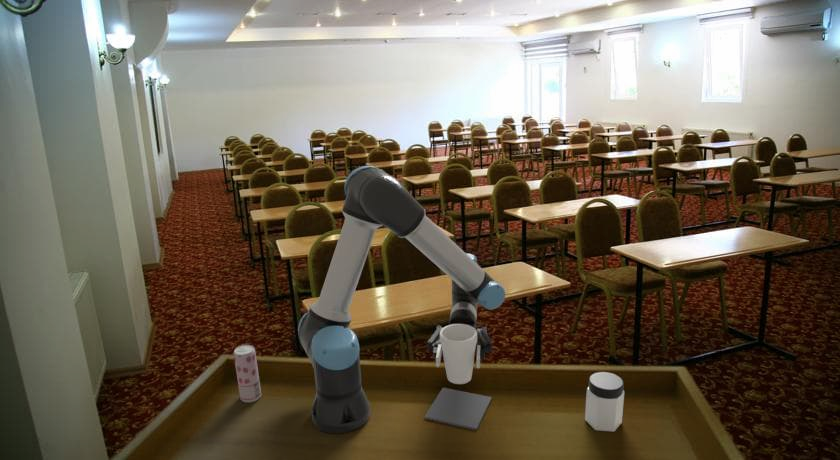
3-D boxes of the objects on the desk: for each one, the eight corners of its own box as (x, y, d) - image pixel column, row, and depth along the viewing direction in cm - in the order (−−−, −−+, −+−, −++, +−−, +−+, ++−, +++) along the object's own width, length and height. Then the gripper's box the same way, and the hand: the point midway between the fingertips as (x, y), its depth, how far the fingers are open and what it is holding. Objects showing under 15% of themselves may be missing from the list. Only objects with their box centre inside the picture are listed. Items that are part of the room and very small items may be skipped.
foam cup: (475, 389, 153) (474, 343, 148) (438, 386, 154) (437, 340, 150) (479, 368, 161) (478, 324, 157) (444, 366, 163) (443, 322, 159)
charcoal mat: (424, 418, 157) (424, 416, 157) (442, 389, 169) (442, 387, 169) (476, 430, 152) (476, 428, 152) (491, 399, 164) (491, 397, 164)
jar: (628, 428, 151) (632, 386, 147) (600, 436, 149) (603, 394, 145) (605, 407, 159) (609, 367, 155) (579, 415, 157) (581, 374, 153)
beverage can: (240, 393, 171) (233, 346, 166) (261, 389, 172) (255, 342, 167) (240, 404, 166) (232, 356, 161) (261, 401, 167) (254, 353, 162)
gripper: (502, 333, 172) (502, 377, 151) (424, 331, 175) (414, 374, 154) (502, 309, 170) (502, 350, 149) (423, 307, 173) (413, 348, 152)
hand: (457, 362), depth 151 cm, fingers closed on foam cup, 9 cm apart
